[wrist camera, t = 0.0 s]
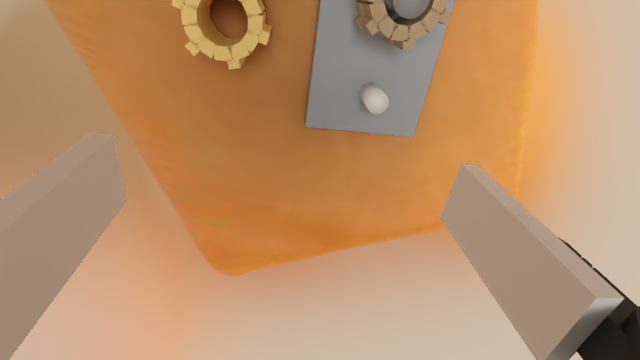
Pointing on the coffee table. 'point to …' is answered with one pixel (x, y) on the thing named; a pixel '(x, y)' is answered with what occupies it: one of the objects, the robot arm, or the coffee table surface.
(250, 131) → the coffee table surface
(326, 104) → the gear board
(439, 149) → the coffee table surface
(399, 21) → the gear
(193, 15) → the ochre gear
